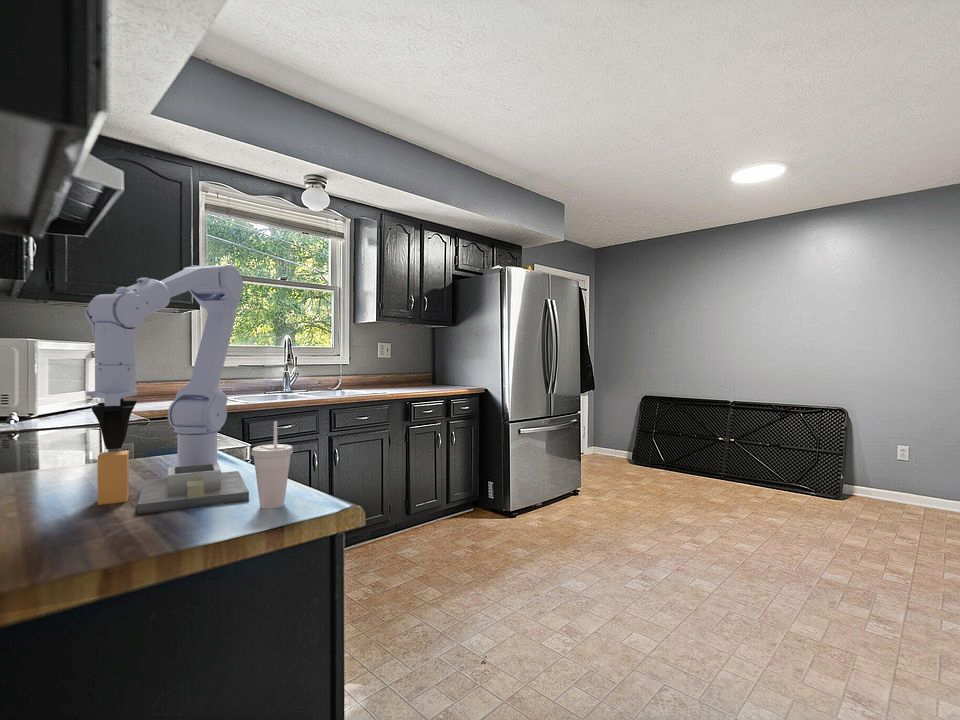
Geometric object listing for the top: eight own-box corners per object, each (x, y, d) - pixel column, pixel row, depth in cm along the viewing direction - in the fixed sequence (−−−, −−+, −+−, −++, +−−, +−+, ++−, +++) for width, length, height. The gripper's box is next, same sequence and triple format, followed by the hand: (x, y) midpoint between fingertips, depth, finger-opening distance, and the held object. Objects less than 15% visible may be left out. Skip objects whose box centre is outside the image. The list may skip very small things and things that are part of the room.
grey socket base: (143, 487, 98) (143, 463, 98) (238, 478, 106) (238, 456, 106) (137, 514, 82) (137, 485, 82) (248, 500, 90) (249, 474, 90)
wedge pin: (100, 499, 90) (100, 452, 90) (128, 496, 92) (128, 450, 92) (97, 504, 87) (97, 456, 87) (126, 501, 89) (126, 454, 89)
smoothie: (278, 512, 83) (278, 424, 83) (242, 510, 85) (242, 423, 85) (300, 501, 90) (300, 419, 90) (266, 499, 91) (266, 418, 91)
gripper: (91, 364, 93) (91, 440, 94) (80, 366, 81) (80, 454, 81) (138, 363, 97) (138, 437, 97) (135, 365, 85) (135, 450, 85)
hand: (115, 445), depth 89 cm, fingers open, 7 cm apart
